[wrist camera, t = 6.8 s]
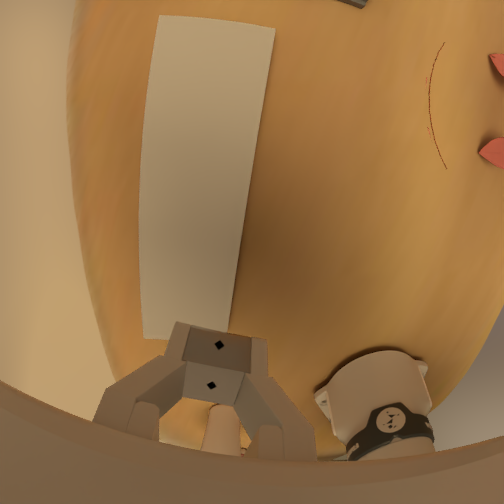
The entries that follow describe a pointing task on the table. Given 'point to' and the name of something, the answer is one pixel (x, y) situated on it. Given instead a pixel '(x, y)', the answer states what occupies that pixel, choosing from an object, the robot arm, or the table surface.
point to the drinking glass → (222, 431)
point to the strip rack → (355, 2)
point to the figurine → (499, 149)
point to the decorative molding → (197, 167)
